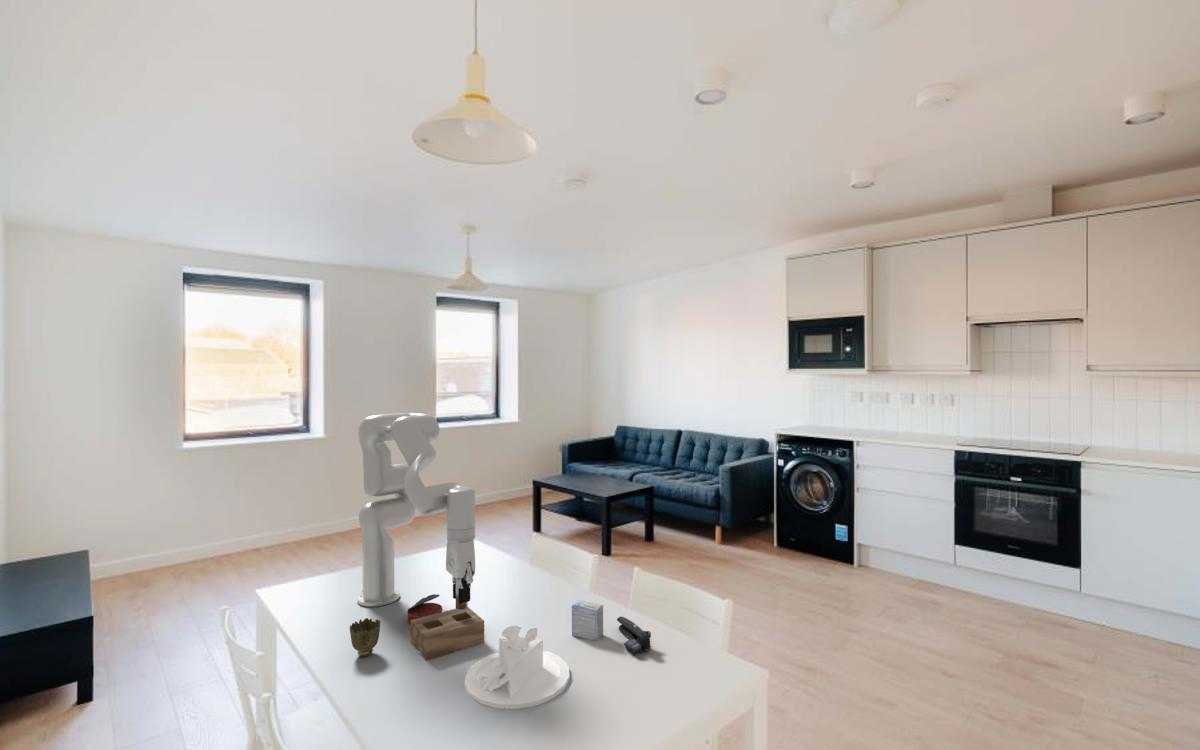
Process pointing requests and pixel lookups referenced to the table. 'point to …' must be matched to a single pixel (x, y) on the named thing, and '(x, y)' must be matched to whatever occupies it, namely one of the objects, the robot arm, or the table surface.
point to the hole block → (446, 632)
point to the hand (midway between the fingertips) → (461, 599)
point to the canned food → (424, 608)
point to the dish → (517, 673)
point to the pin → (458, 605)
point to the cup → (365, 636)
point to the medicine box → (587, 620)
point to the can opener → (634, 636)
